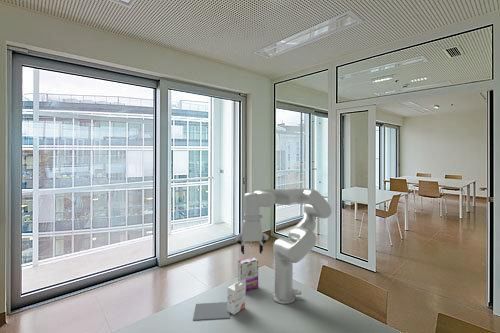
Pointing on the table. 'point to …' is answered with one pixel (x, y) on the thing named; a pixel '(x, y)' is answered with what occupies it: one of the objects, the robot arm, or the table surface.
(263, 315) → the table surface
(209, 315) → the mat
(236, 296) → the ink cartridge box
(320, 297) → the table surface
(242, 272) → the candy bar box
